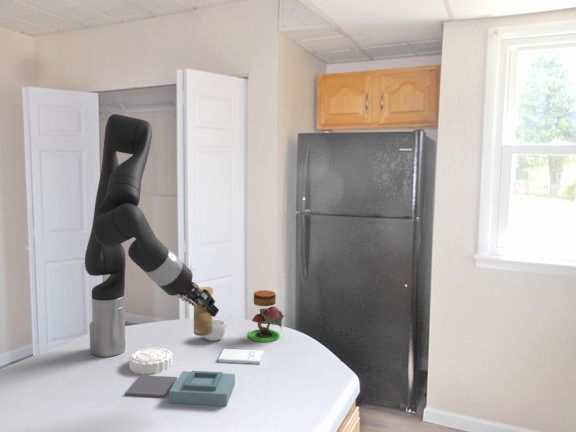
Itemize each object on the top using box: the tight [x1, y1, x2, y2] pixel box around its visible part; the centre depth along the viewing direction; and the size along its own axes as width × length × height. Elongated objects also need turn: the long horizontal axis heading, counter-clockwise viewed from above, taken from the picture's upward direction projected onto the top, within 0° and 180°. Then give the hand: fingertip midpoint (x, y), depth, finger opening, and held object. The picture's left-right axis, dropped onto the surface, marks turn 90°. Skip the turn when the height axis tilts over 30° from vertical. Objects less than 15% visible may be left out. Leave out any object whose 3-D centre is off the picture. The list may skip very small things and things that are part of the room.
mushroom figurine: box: [248, 290, 285, 343], centre depth 158 cm, size 12×13×15 cm
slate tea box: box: [168, 370, 236, 407], centre depth 118 cm, size 14×11×4 cm
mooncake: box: [128, 346, 174, 375], centre depth 134 cm, size 12×12×4 cm
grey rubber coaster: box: [124, 374, 178, 398], centre depth 121 cm, size 10×10×1 cm
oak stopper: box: [193, 286, 214, 337], centre depth 116 cm, size 5×5×11 cm
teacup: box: [203, 318, 226, 342], centre depth 155 cm, size 10×8×5 cm
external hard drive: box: [217, 348, 265, 365], centre depth 141 cm, size 2×8×12 cm
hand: (209, 310), depth 117 cm, fingers closed on oak stopper, 4 cm apart
